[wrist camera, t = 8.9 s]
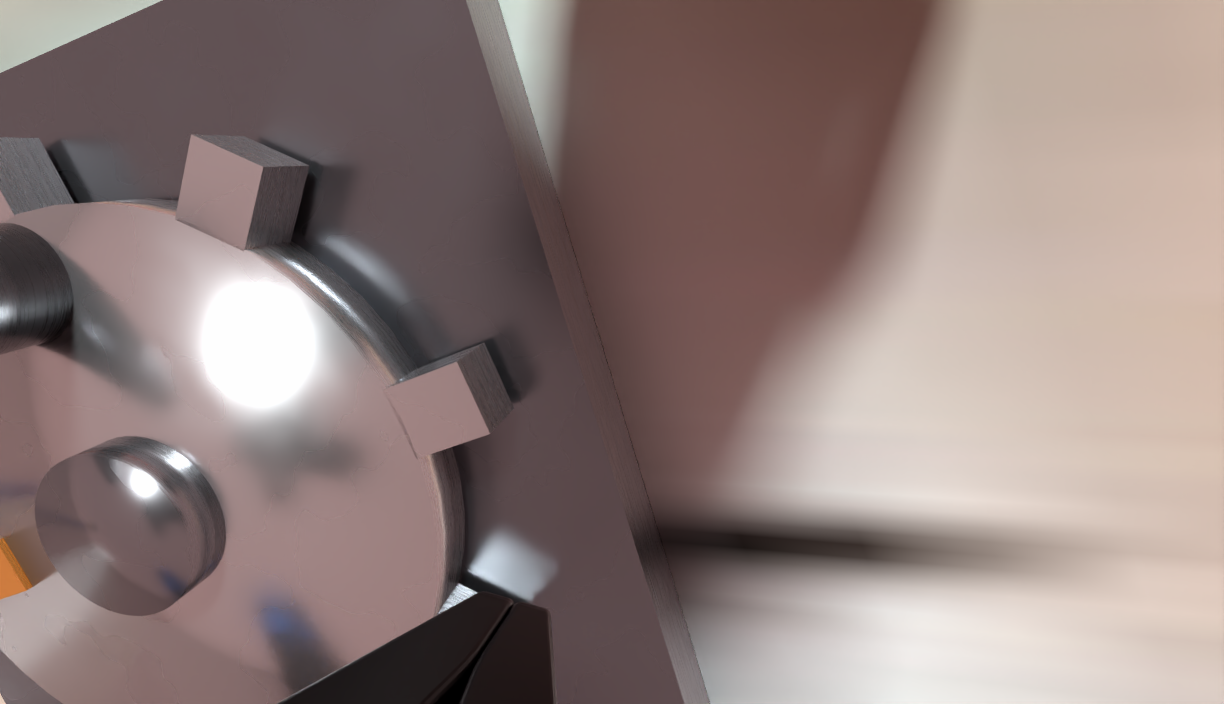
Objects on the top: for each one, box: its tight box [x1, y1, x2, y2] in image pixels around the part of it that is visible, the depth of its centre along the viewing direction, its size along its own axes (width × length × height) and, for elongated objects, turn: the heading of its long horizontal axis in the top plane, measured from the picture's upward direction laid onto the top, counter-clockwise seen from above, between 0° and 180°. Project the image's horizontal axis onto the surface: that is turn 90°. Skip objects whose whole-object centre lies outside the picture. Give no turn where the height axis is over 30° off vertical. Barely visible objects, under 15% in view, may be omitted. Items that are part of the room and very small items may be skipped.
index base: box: [0, 0, 710, 704], centre depth 20 cm, size 24×24×6 cm
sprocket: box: [0, 134, 514, 704], centre depth 17 cm, size 20×20×7 cm
